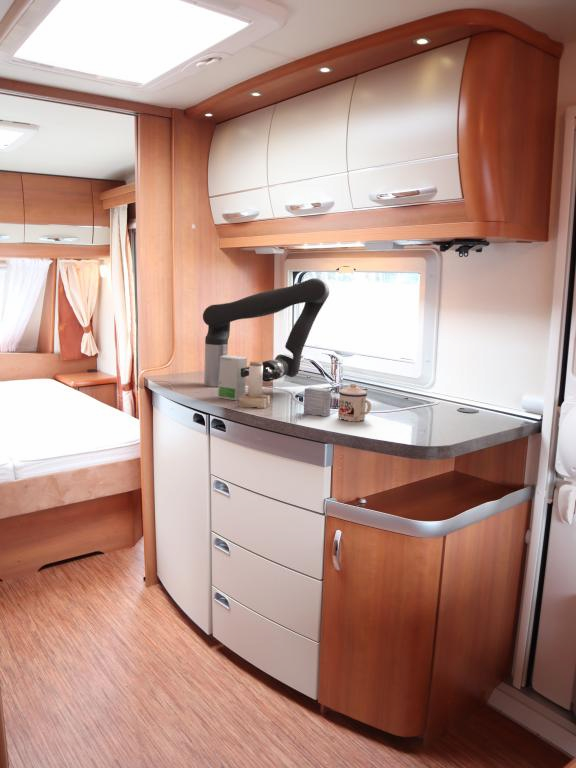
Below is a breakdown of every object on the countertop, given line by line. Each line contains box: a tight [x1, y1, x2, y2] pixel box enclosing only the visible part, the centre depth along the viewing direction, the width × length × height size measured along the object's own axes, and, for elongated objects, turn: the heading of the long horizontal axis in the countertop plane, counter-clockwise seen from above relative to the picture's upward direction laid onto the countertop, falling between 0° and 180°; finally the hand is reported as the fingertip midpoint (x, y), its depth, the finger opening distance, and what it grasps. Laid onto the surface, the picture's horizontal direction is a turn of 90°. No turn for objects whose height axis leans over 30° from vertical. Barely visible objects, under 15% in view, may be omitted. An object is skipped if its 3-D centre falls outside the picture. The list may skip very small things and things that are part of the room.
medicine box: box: [303, 386, 332, 417], centre depth 204 cm, size 8×4×9 cm, turn 59°
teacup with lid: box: [337, 382, 372, 422], centre depth 198 cm, size 12×9×12 cm
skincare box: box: [217, 354, 248, 401], centre depth 226 cm, size 8×7×16 cm
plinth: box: [238, 393, 271, 409], centre depth 215 cm, size 9×9×3 cm
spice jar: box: [247, 361, 263, 398], centre depth 214 cm, size 5×5×12 cm
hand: (253, 375), depth 212 cm, fingers open, 8 cm apart
